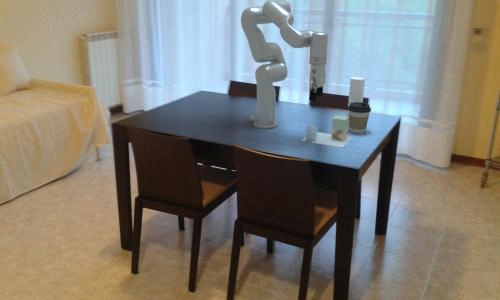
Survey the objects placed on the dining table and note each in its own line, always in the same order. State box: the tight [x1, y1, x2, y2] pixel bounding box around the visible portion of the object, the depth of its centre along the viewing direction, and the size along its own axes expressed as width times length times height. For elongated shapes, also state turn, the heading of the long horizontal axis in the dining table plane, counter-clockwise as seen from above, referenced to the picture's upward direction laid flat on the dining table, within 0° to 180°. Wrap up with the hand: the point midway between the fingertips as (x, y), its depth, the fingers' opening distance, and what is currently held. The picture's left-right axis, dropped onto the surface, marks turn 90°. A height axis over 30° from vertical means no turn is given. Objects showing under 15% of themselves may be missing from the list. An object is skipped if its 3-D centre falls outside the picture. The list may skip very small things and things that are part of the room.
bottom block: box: [331, 127, 349, 141], centre depth 228 cm, size 6×6×5 cm
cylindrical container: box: [346, 76, 366, 128], centre depth 248 cm, size 7×7×25 cm
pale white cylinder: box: [305, 125, 318, 143], centre depth 224 cm, size 5×5×6 cm
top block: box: [331, 115, 349, 131], centre depth 226 cm, size 6×6×5 cm
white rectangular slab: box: [300, 131, 352, 148], centre depth 227 cm, size 20×16×2 cm
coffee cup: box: [347, 102, 372, 134], centre depth 237 cm, size 11×11×15 cm
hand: (315, 98), depth 220 cm, fingers open, 9 cm apart
